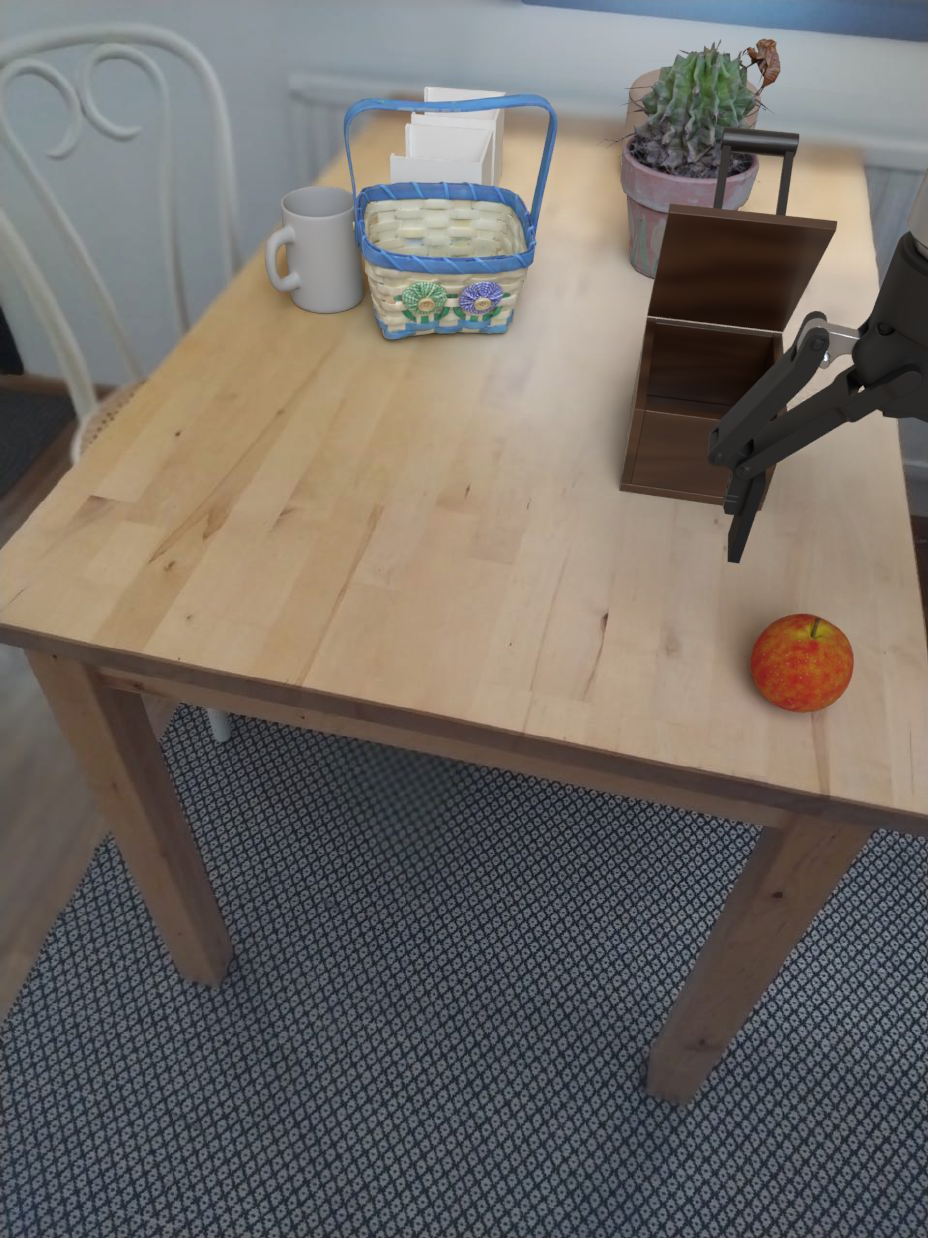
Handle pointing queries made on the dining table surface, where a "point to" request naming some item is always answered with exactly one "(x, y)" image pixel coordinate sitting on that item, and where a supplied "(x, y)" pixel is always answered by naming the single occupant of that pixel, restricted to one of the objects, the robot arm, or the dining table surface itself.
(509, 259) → the basket
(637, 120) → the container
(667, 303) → the lid
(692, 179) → the potted plant
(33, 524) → the dining table surface
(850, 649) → the fruit
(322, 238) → the mug
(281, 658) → the dining table surface
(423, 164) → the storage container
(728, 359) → the chest
